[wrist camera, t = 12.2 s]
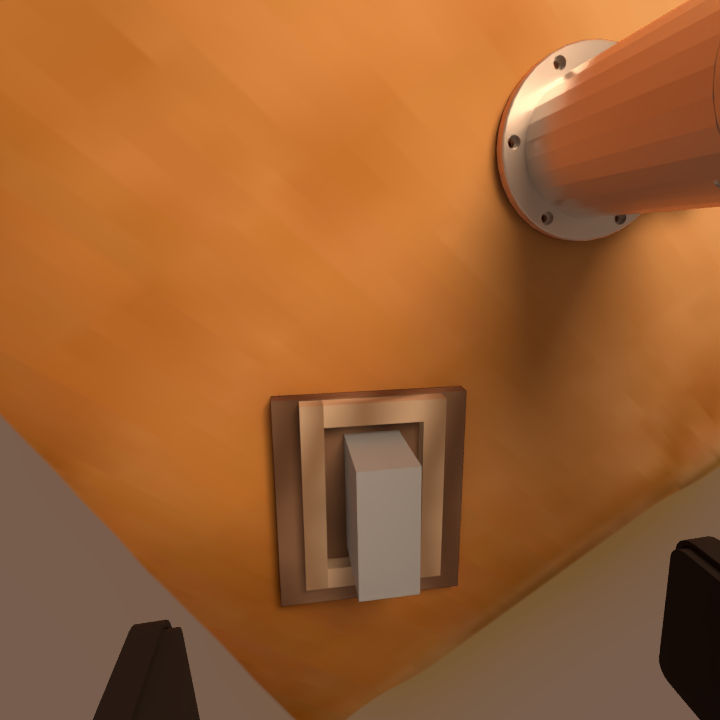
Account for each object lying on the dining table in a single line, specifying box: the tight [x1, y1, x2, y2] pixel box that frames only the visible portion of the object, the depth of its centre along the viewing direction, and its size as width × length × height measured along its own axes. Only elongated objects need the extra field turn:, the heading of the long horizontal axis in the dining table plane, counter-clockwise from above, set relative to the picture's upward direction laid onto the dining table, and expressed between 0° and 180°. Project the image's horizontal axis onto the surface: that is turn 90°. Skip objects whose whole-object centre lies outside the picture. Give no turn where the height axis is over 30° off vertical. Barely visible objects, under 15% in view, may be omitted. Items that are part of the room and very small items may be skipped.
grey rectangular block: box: [344, 430, 422, 602], centre depth 33 cm, size 4×9×6 cm, turn 1°
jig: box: [271, 386, 466, 606], centre depth 36 cm, size 14×16×2 cm
